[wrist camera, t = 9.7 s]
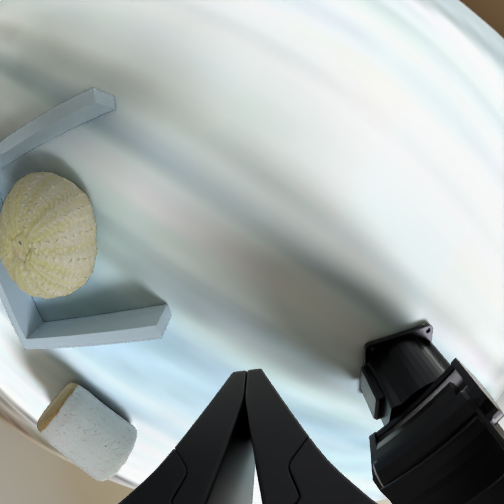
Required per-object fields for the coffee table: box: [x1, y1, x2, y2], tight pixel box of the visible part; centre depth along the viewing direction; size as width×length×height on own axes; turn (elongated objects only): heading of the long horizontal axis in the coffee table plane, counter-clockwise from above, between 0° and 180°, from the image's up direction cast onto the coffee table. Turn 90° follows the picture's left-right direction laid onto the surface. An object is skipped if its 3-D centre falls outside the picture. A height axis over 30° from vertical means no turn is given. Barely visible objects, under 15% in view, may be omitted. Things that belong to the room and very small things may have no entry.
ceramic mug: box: [37, 383, 137, 481], centre depth 21 cm, size 11×8×8 cm
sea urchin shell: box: [0, 172, 97, 299], centre depth 17 cm, size 9×8×8 cm
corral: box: [0, 88, 172, 349], centre depth 17 cm, size 14×16×3 cm
